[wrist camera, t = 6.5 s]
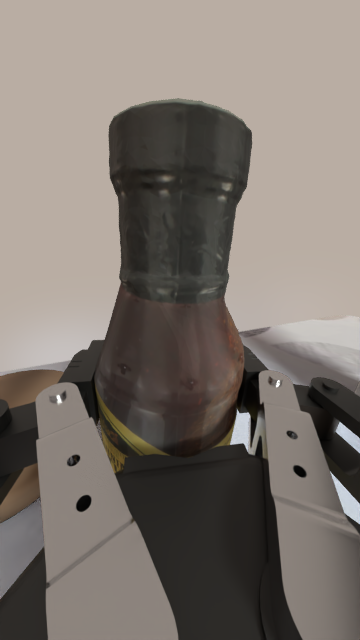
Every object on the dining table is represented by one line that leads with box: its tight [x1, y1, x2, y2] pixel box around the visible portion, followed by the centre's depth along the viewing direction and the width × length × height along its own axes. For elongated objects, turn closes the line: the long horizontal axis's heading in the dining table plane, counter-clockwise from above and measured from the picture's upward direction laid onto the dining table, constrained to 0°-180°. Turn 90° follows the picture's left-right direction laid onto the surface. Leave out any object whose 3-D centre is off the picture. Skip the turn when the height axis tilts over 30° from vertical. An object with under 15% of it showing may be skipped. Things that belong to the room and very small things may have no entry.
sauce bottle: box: [94, 99, 252, 473], centre depth 10 cm, size 7×6×20 cm
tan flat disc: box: [0, 370, 64, 523], centre depth 17 cm, size 13×13×3 cm
